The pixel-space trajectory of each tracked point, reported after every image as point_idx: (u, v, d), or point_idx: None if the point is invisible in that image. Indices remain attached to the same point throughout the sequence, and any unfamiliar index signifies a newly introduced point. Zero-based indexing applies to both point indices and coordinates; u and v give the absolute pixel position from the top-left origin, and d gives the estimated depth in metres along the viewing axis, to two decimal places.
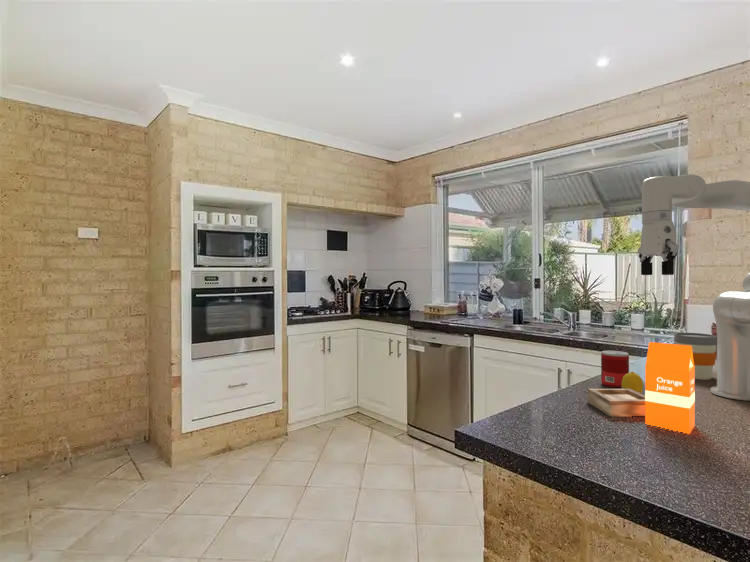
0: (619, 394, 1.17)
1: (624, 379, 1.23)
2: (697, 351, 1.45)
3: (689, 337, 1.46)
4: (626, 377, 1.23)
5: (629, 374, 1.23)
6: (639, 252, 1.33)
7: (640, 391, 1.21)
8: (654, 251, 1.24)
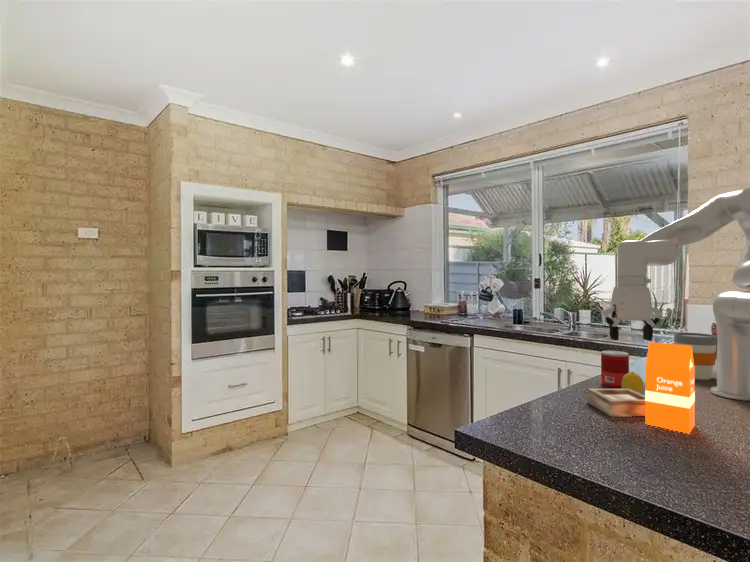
0: (619, 394, 1.17)
1: (624, 379, 1.23)
2: (697, 351, 1.45)
3: (689, 337, 1.46)
4: (626, 377, 1.23)
5: (629, 374, 1.23)
6: (606, 315, 1.23)
7: (640, 391, 1.21)
8: (643, 316, 1.21)
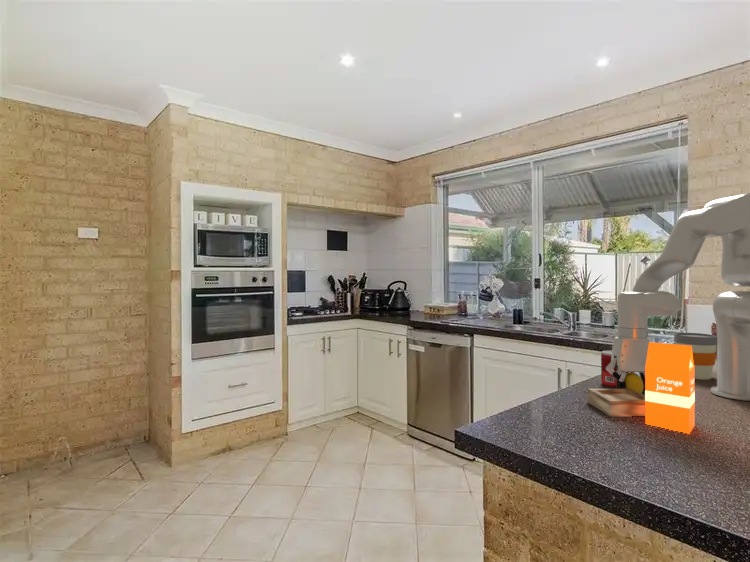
0: (619, 394, 1.17)
1: (624, 379, 1.23)
2: (697, 351, 1.45)
3: (689, 337, 1.46)
4: (626, 377, 1.23)
5: (629, 374, 1.23)
6: (611, 371, 1.23)
7: (640, 391, 1.21)
8: (644, 368, 1.21)
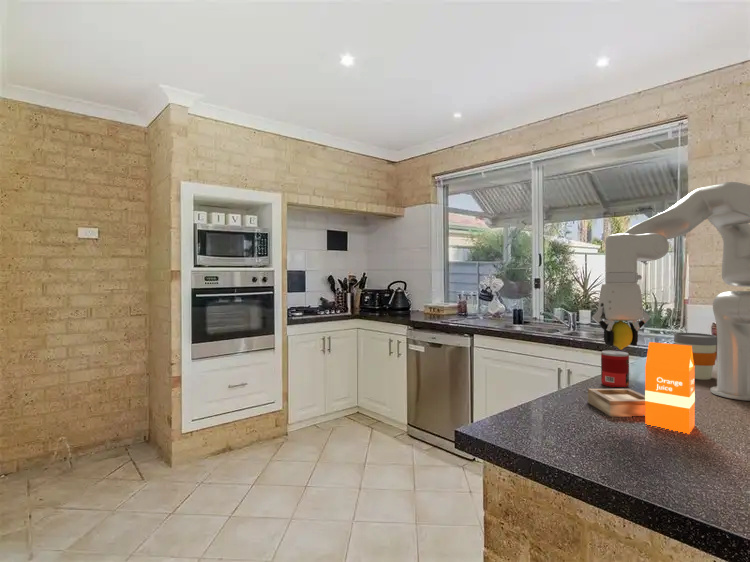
0: (619, 394, 1.17)
1: (612, 329, 1.14)
2: (697, 351, 1.45)
3: (689, 337, 1.46)
4: (613, 326, 1.14)
5: (617, 323, 1.14)
6: (598, 319, 1.14)
7: (629, 341, 1.12)
8: (634, 316, 1.12)
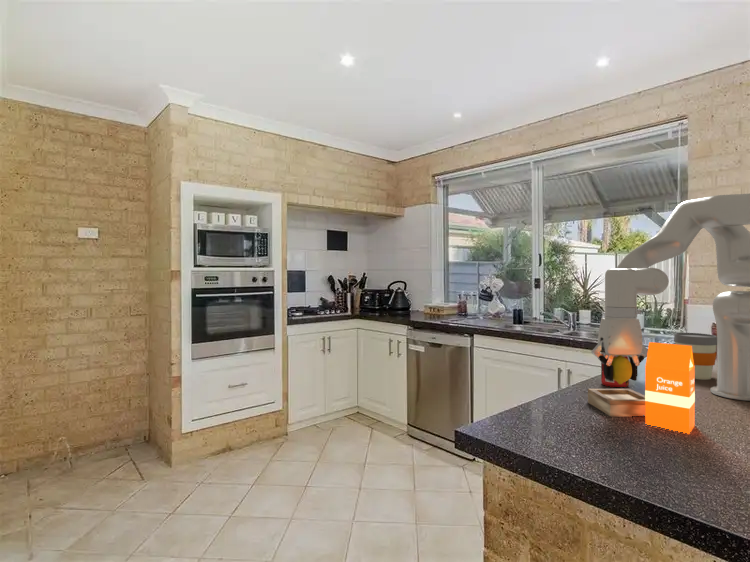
0: (619, 394, 1.17)
1: (611, 363, 1.14)
2: (697, 351, 1.45)
3: (689, 337, 1.46)
4: (613, 361, 1.13)
5: (617, 358, 1.13)
6: (598, 354, 1.13)
7: (628, 376, 1.11)
8: (633, 351, 1.11)
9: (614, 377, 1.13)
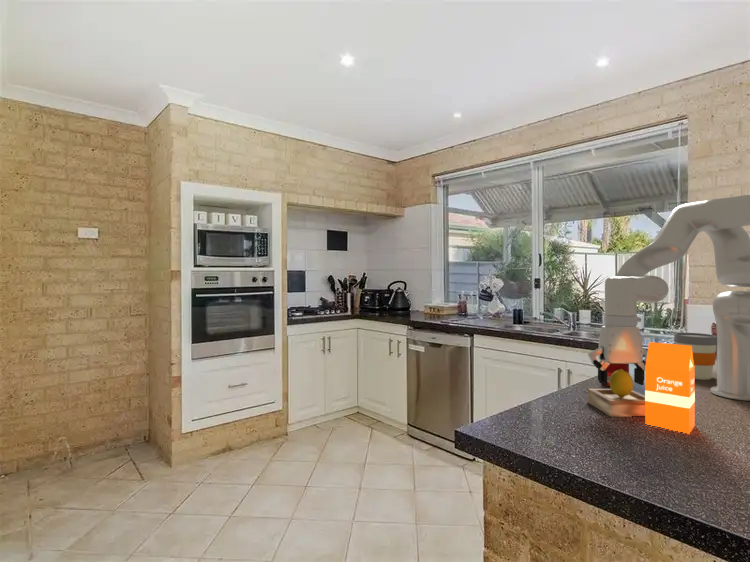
0: None
1: (612, 377, 1.14)
2: (697, 351, 1.45)
3: (689, 337, 1.46)
4: (614, 375, 1.13)
5: (618, 372, 1.13)
6: (593, 358, 1.13)
7: (629, 390, 1.11)
8: (634, 359, 1.11)
9: (615, 391, 1.13)
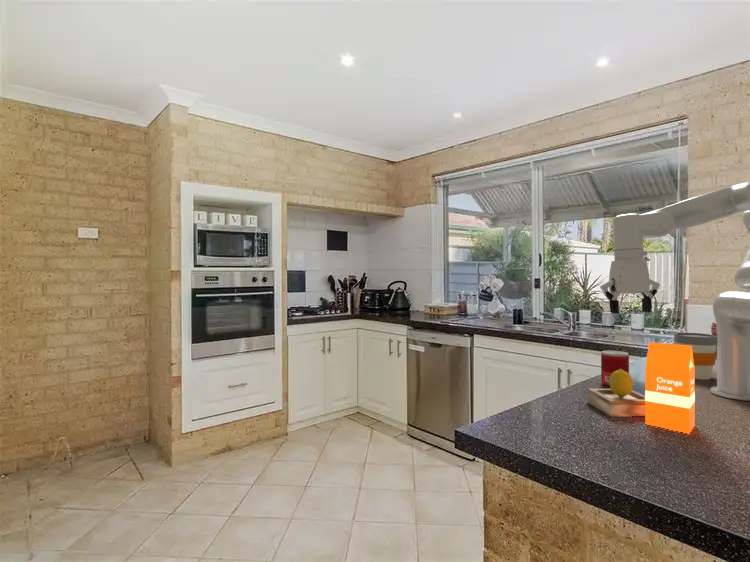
0: None
1: (612, 377, 1.14)
2: (697, 351, 1.45)
3: (689, 337, 1.46)
4: (614, 375, 1.13)
5: (617, 371, 1.13)
6: (605, 289, 1.24)
7: (629, 390, 1.11)
8: (642, 288, 1.23)
9: (615, 391, 1.13)
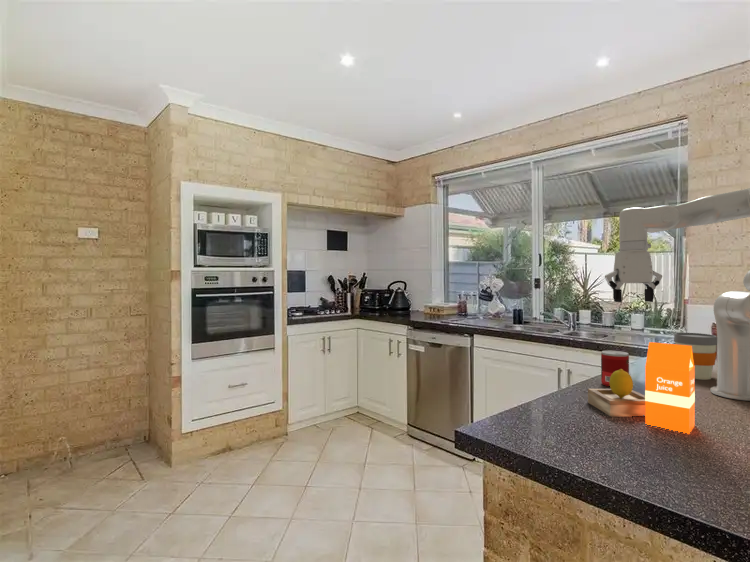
0: None
1: (612, 377, 1.14)
2: (697, 351, 1.45)
3: (689, 337, 1.46)
4: (614, 375, 1.13)
5: (618, 372, 1.13)
6: (609, 279, 1.31)
7: (629, 390, 1.11)
8: (645, 279, 1.29)
9: (615, 391, 1.13)
